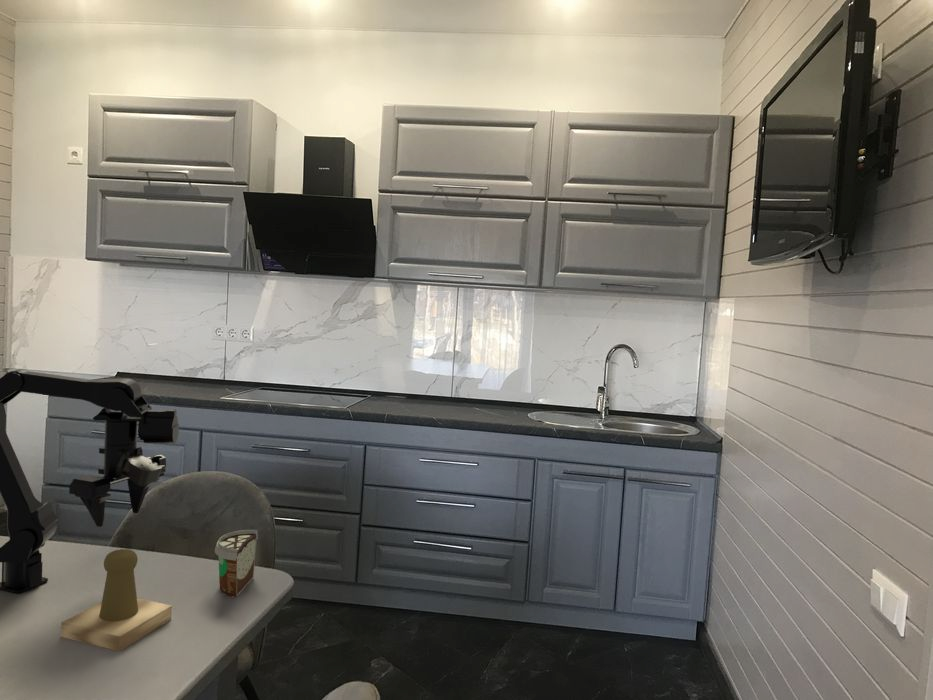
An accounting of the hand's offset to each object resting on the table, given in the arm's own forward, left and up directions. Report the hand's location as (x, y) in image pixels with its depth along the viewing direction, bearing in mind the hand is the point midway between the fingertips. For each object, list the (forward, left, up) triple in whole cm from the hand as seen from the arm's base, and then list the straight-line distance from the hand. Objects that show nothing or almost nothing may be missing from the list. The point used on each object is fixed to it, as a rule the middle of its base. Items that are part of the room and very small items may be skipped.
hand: (118, 519), depth 130 cm
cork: (+14, -14, -11) cm, 22 cm away
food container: (+21, +8, -13) cm, 26 cm away
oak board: (+14, -14, -13) cm, 24 cm away
